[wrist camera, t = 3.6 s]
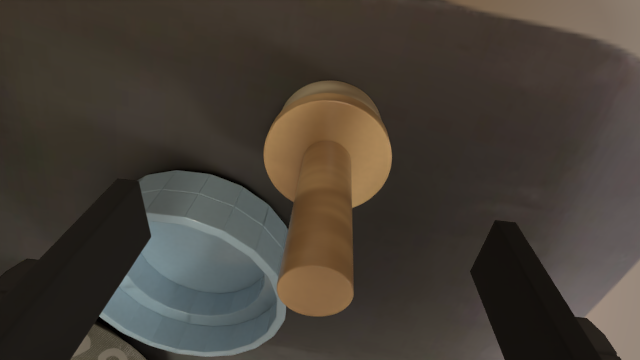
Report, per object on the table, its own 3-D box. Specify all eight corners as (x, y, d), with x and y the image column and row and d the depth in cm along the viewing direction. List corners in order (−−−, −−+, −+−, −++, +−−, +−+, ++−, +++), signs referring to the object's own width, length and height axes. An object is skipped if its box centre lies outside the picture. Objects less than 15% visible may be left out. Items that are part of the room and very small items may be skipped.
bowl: (301, 177, 22) (291, 229, 18) (291, 307, 30) (281, 366, 25) (95, 152, 22) (37, 199, 18) (135, 289, 30) (100, 344, 25)
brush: (396, 83, 19) (448, 227, 9) (374, 182, 22) (395, 361, 13) (276, 69, 19) (202, 198, 9) (273, 171, 22) (218, 340, 13)
